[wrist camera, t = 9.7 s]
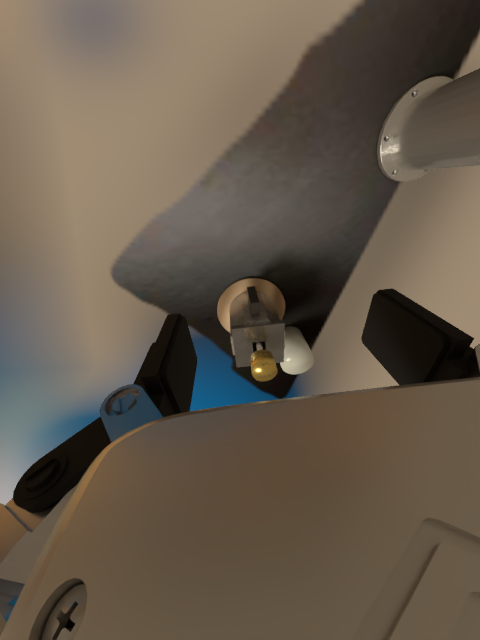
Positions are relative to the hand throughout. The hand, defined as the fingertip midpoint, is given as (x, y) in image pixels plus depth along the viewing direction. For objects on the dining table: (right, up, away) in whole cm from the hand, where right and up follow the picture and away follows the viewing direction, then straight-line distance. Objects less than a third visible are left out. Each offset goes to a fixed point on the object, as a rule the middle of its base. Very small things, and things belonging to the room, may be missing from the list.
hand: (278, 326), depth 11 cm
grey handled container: (+1, +4, +38) cm, 38 cm away
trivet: (+1, +3, +39) cm, 39 cm away
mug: (+11, -5, +45) cm, 46 cm away
